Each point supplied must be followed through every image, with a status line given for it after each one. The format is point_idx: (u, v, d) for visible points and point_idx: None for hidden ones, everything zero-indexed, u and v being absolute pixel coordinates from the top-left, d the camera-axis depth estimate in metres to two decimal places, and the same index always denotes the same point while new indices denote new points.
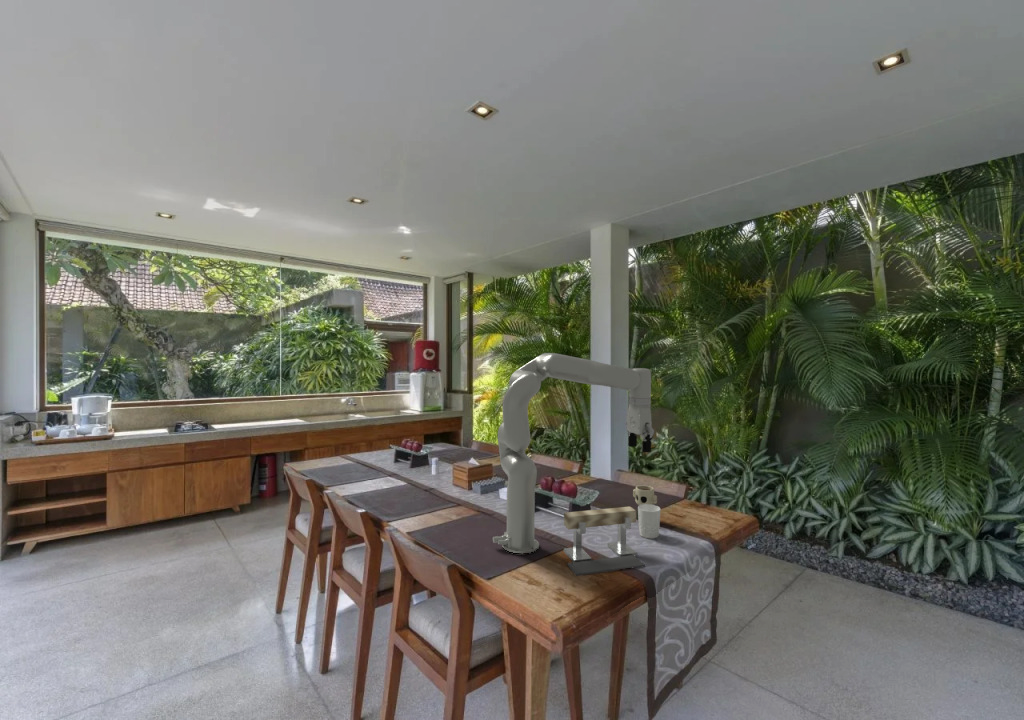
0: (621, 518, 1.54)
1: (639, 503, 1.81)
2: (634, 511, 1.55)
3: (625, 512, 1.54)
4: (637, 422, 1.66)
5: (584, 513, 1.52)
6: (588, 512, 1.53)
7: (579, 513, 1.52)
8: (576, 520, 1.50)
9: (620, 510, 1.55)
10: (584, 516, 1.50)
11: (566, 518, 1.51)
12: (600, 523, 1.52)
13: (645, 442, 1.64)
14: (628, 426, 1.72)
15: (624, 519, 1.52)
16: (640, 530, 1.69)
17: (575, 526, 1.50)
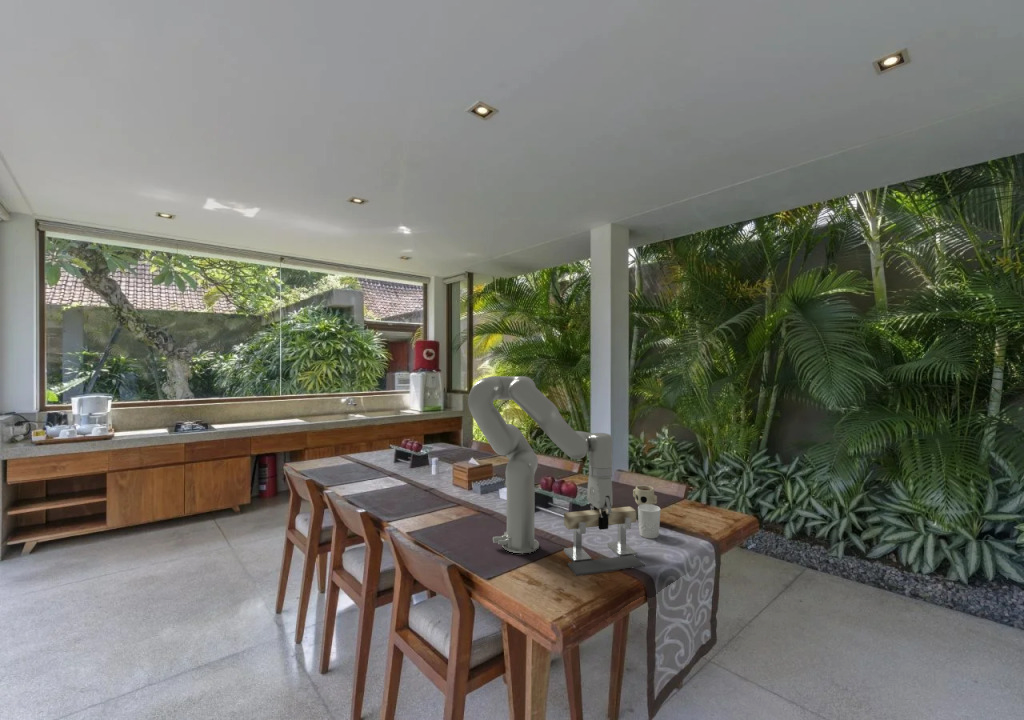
0: (621, 518, 1.54)
1: (639, 503, 1.81)
2: (634, 511, 1.55)
3: (625, 512, 1.54)
4: (597, 495, 1.50)
5: (584, 513, 1.52)
6: (588, 512, 1.53)
7: (579, 513, 1.52)
8: (577, 520, 1.50)
9: (620, 510, 1.55)
10: (584, 516, 1.50)
11: (566, 518, 1.51)
12: None
13: (601, 519, 1.51)
14: (588, 496, 1.56)
15: (624, 519, 1.52)
16: (640, 530, 1.69)
17: (575, 526, 1.50)
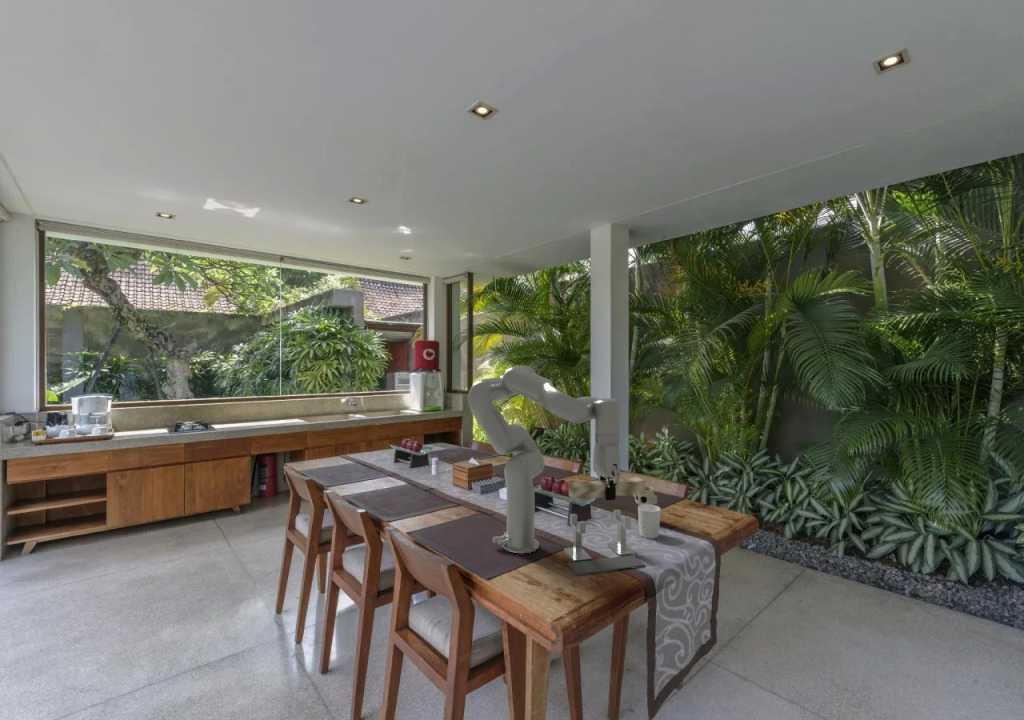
0: (630, 489, 1.45)
1: (639, 503, 1.81)
2: (643, 481, 1.46)
3: (633, 483, 1.45)
4: (603, 463, 1.41)
5: (590, 483, 1.43)
6: (594, 482, 1.44)
7: (585, 483, 1.43)
8: (582, 490, 1.41)
9: (628, 480, 1.46)
10: (590, 486, 1.41)
11: (571, 488, 1.42)
12: None
13: (608, 489, 1.42)
14: (594, 466, 1.47)
15: (624, 519, 1.52)
16: (640, 530, 1.69)
17: (581, 496, 1.40)
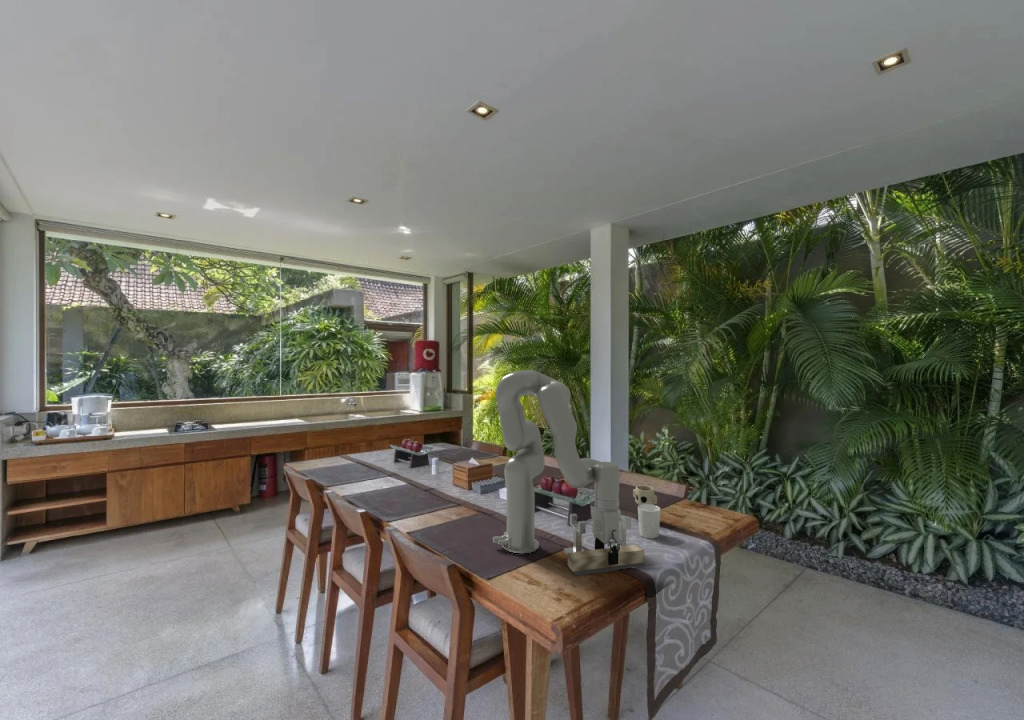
0: (628, 558, 1.45)
1: (639, 503, 1.81)
2: (642, 550, 1.47)
3: (632, 552, 1.46)
4: (602, 528, 1.41)
5: (589, 554, 1.43)
6: (593, 552, 1.44)
7: (584, 553, 1.44)
8: (581, 561, 1.41)
9: (627, 549, 1.47)
10: (589, 557, 1.42)
11: (570, 559, 1.42)
12: (606, 564, 1.43)
13: (611, 553, 1.40)
14: (593, 529, 1.48)
15: (624, 519, 1.52)
16: (640, 530, 1.69)
17: (580, 568, 1.41)
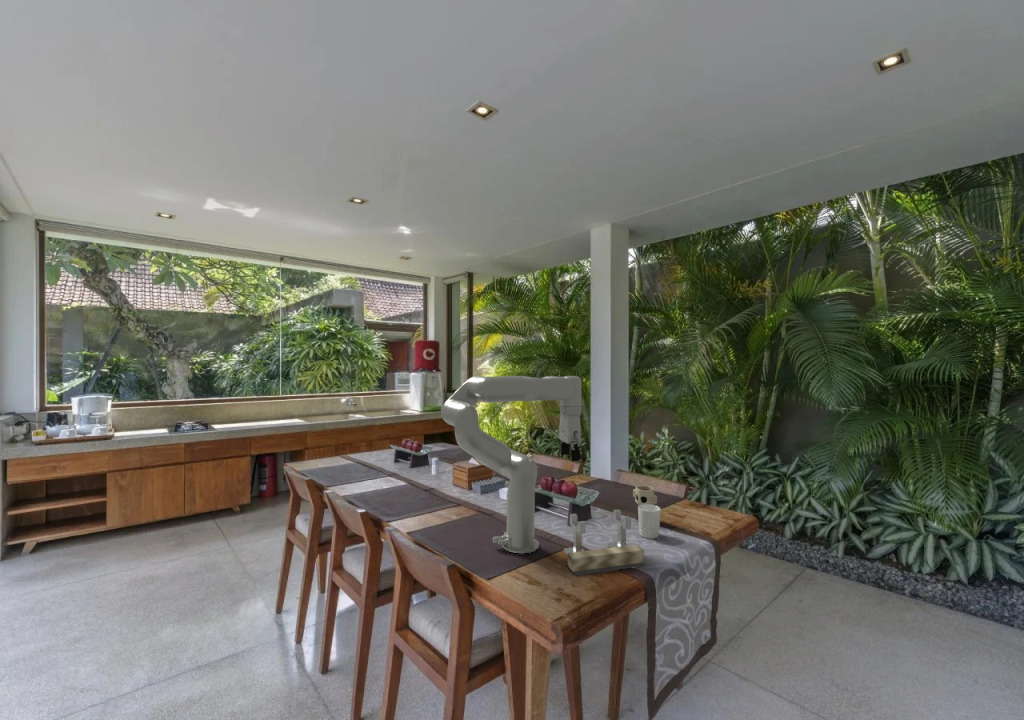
0: (628, 558, 1.45)
1: (639, 503, 1.81)
2: (642, 550, 1.47)
3: (632, 552, 1.46)
4: (566, 431, 1.64)
5: (589, 554, 1.43)
6: (593, 552, 1.44)
7: (584, 553, 1.44)
8: (581, 561, 1.41)
9: (627, 549, 1.47)
10: (589, 557, 1.42)
11: (570, 559, 1.42)
12: (606, 564, 1.43)
13: (574, 451, 1.63)
14: (560, 434, 1.70)
15: (624, 519, 1.52)
16: (640, 530, 1.69)
17: (580, 568, 1.41)
